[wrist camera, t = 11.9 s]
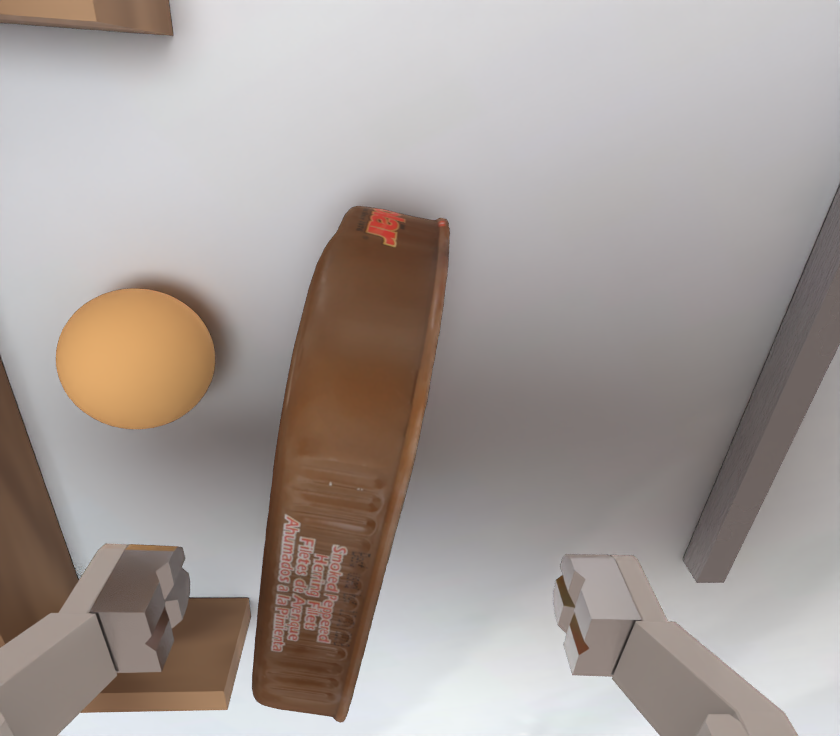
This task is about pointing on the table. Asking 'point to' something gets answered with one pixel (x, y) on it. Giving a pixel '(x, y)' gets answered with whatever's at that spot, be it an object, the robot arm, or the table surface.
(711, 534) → the rail
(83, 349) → the ball
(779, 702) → the table surface
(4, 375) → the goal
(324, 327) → the tin
